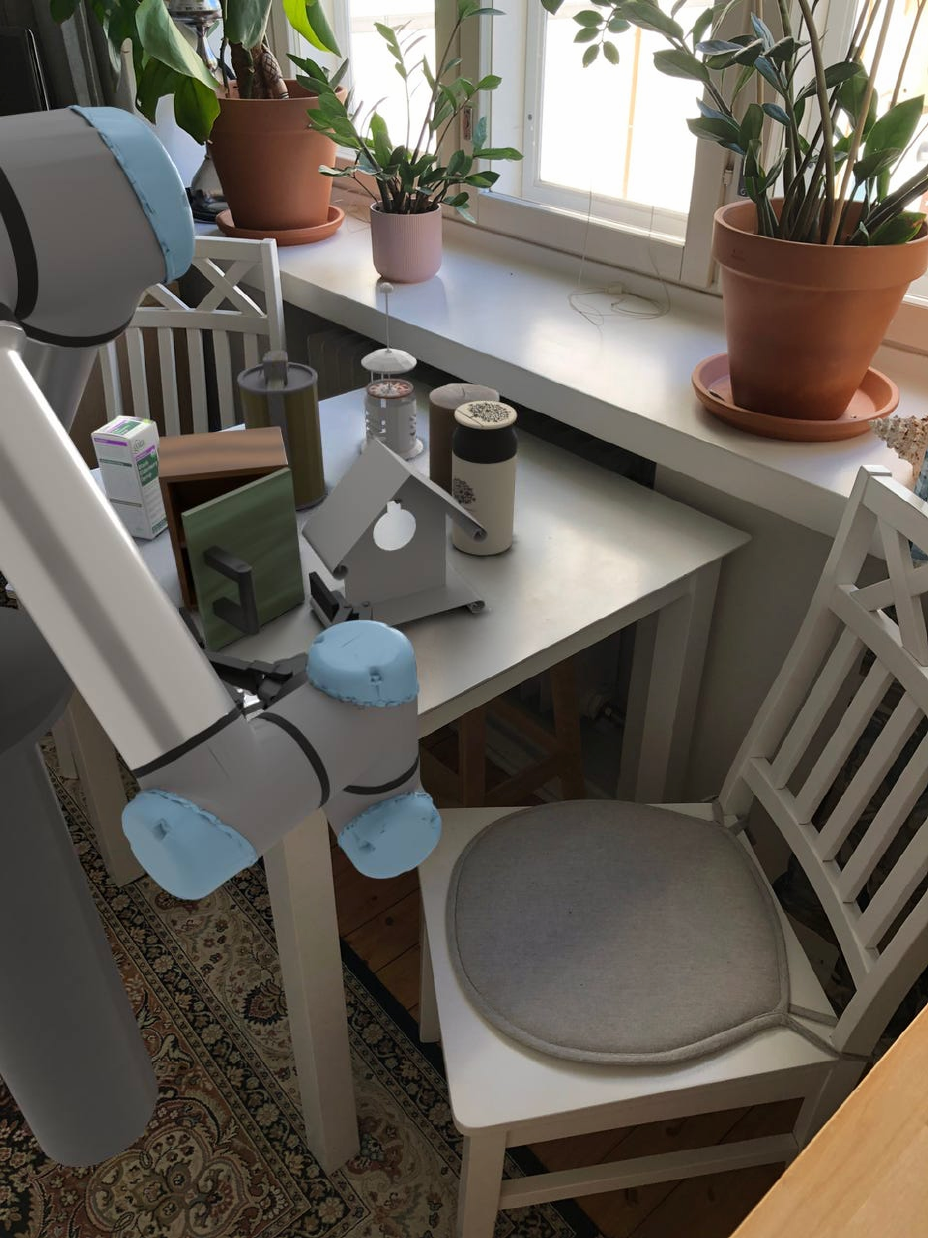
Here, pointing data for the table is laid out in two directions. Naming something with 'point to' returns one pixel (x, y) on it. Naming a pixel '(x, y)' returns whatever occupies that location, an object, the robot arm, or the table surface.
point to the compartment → (210, 479)
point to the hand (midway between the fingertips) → (250, 599)
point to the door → (245, 558)
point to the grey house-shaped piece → (391, 577)
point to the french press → (391, 399)
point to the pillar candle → (449, 426)
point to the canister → (288, 418)
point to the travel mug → (485, 473)
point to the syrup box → (132, 473)
